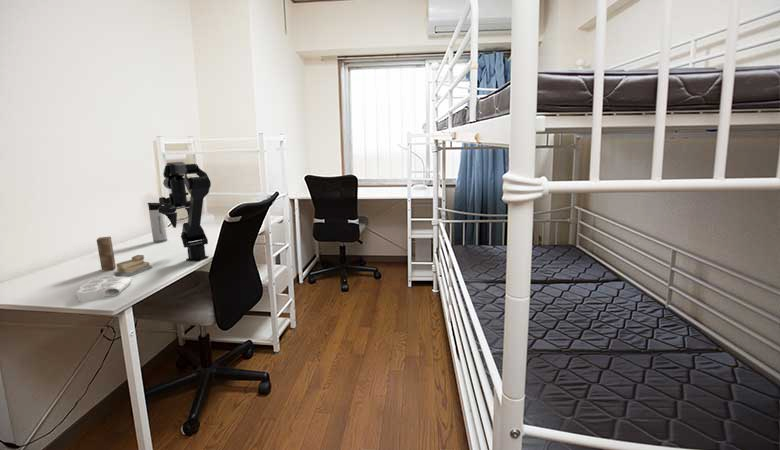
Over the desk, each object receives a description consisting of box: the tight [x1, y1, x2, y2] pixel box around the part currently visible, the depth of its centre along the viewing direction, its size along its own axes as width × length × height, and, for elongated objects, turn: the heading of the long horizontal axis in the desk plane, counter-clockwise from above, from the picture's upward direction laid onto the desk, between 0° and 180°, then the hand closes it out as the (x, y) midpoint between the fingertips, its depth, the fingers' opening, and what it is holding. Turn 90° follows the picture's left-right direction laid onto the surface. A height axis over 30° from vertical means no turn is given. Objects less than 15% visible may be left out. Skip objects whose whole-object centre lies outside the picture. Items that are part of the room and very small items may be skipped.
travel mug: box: [147, 202, 168, 244], centre depth 208 cm, size 6×7×20 cm
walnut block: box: [96, 236, 117, 272], centre depth 165 cm, size 4×4×13 cm
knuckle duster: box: [74, 274, 133, 302], centre depth 142 cm, size 3×18×15 cm
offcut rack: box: [112, 254, 153, 277], centre depth 162 cm, size 7×11×6 cm, turn 161°
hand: (182, 225), depth 185 cm, fingers open, 9 cm apart
